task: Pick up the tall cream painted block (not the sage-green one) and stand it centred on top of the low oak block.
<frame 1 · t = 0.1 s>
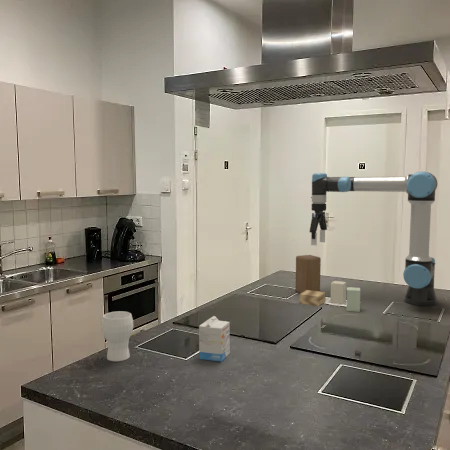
hand: (318, 243, 242), 28 cm above the counter, fingers open, 13 cm apart
oak base: (312, 302, 232), on the counter
sage block: (353, 309, 219), on the counter
wooden block: (307, 293, 252), on the counter
cup: (118, 357, 161), on the counter
cream block: (338, 302, 233), on the counter
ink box: (214, 356, 162), on the counter
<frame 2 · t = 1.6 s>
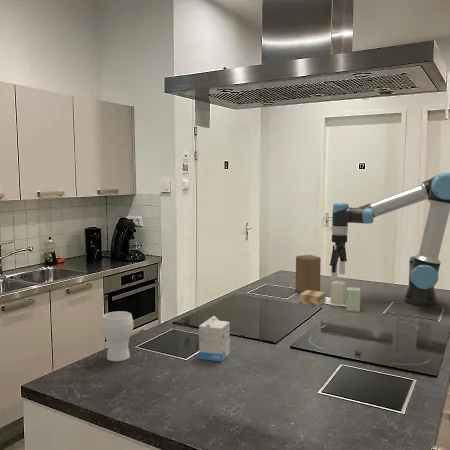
hand: (338, 276, 231), 13 cm above the counter, fingers open, 13 cm apart
nothing on the counter moved.
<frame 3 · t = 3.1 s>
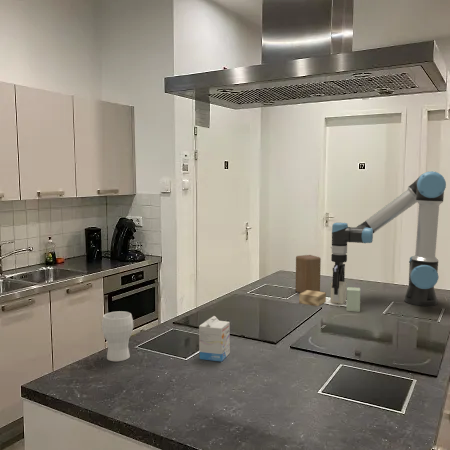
hand: (338, 299, 232), 1 cm above the counter, fingers closed on cream block, 6 cm apart
cream block: (338, 302, 233), on the counter, touching gripper
everything else where it was.
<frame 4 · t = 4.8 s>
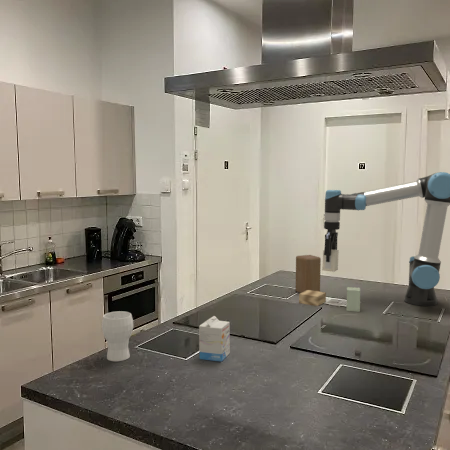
hand: (330, 267, 231), 18 cm above the counter, fingers closed on cream block, 6 cm apart
cream block: (330, 270, 231), point 16 cm above the counter, touching gripper
everything else where it was.
when the fingers open (9 cm above the counter, at t = 6.7 s): cream block drops 3 cm, resting on oak base.
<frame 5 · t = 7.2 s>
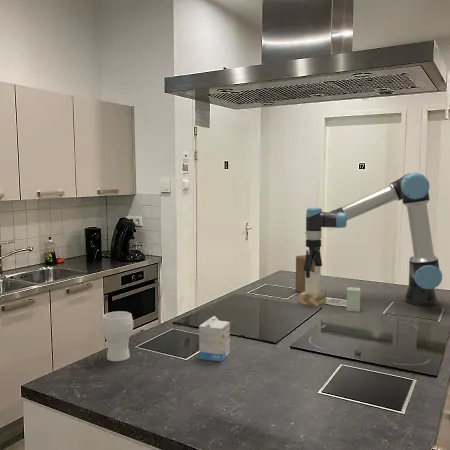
hand: (312, 281, 231), 11 cm above the counter, fingers open, 13 cm apart
oak base: (312, 303, 232), on the counter, touching cream block
cream block: (312, 293, 231), point 5 cm above the counter, touching oak base
everything else where it was.
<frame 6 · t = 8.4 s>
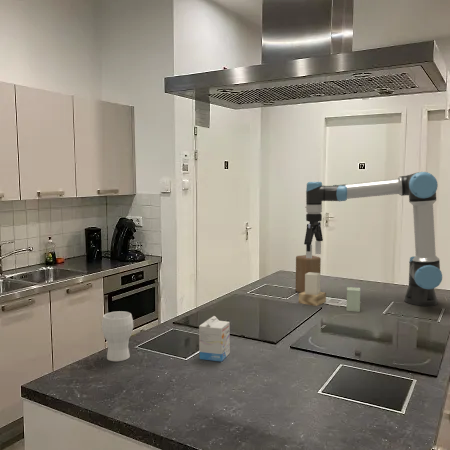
hand: (313, 255, 230), 24 cm above the counter, fingers open, 13 cm apart
nothing on the counter moved.
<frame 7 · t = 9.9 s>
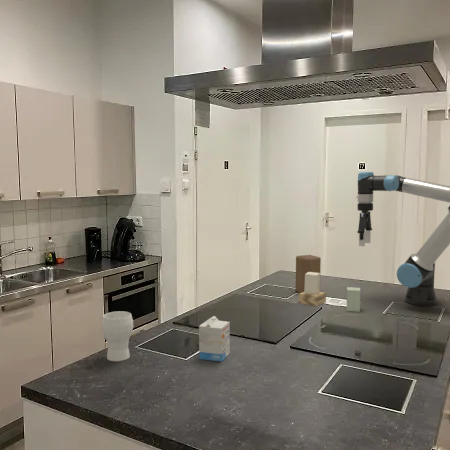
hand: (364, 244, 235), 28 cm above the counter, fingers open, 13 cm apart
nothing on the counter moved.
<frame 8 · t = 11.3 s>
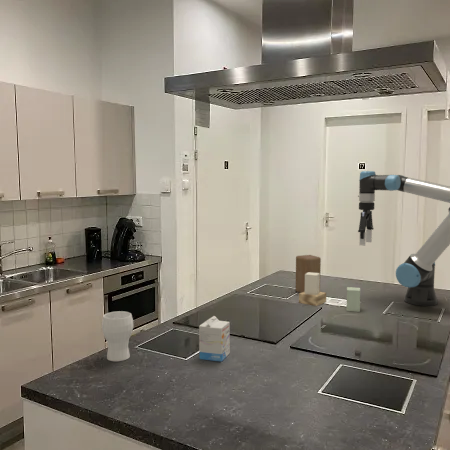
hand: (365, 243, 235), 29 cm above the counter, fingers open, 13 cm apart
nothing on the counter moved.
at the end: cream block 0.5 cm off-centre on the oak base, point 5.0 cm above the oak base's base; cream block tilted 0°; the gripper is holding nothing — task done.
